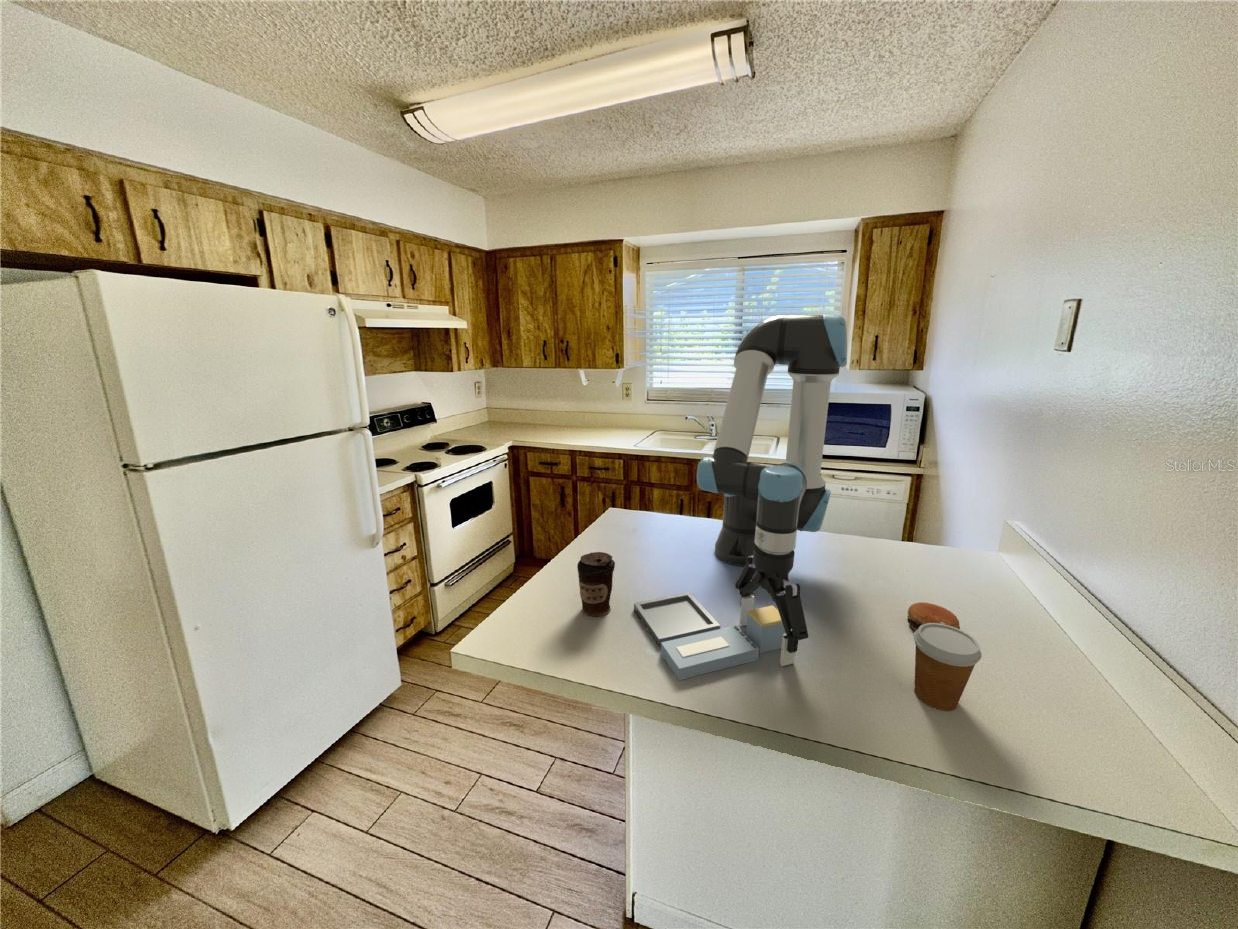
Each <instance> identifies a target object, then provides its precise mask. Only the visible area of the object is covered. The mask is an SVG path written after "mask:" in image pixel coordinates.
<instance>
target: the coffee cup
mask: <svg viewBox="0 0 1238 929" xmlns="http://www.w3.org/2000/svg"><path fill="white" fill-rule="evenodd" d="M579 559H580V560H578V563H577V567H576V568H577V573H578V574H577V575H578V586H579V594H580V600H581V605H582V606H581V608H582V612H583V613H584V614H585V615H588V616H590V617H591V616H592V617H601V616H604V615H605V616H606V615H607V614H609V613H610V611H611V605H610V600H611V594H612V590H613V578H614V576H613V575H614V571H615V564H616V562H615V560H614V559H613V556H612V555H611V554H609V553H607V552H601V551H595V552H590V553H586V554H582V556H580V558H579Z"/></svg>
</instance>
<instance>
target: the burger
mask: <svg viewBox="0 0 1238 929" xmlns="http://www.w3.org/2000/svg"><path fill="white" fill-rule="evenodd" d="M906 616H907V619H906V620H907V623H908V624H909V625H910V626H911V628H912V629H913V630H914V631H916V630H918V628H919V627H920V626H921V625H923V624H926V623H940V624H945V625H949V626H952V627H955V628H957V629H960V630H961V626H960V620H959V619H958V617H957V616H956V614H954V613H953V612H952V611H951V610H949V609H947V608H945V607H943V606H940V605H938V604H934V603H929V602H916V603H912V604H911V605H910V606H909V607H908V610H907V615H906Z"/></svg>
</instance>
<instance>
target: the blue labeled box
mask: <svg viewBox="0 0 1238 929" xmlns="http://www.w3.org/2000/svg"><path fill="white" fill-rule="evenodd" d="M660 654H661V656H662V657H663V659H664V661H665V662H666V663H667V664H668V666H669V668H670V670H671V671H672V672H673V674H674V675H675V677H676V678H677V680H678V681H681V680H685V679H689V678H692V677H697V676H700V675H705V674H709V673H712V672H716V671H719V670H725V669H727V668H732V667H735V666H740V665H742V664H746V663H750V662H754V661H758V660H759V654H760V653H759V648H758V647H757V646H756V645H755V644H754V643H753V642H752V641H751V640H750V639H749V638H748V637H747V636H746V633H744V632H743V631H742V629H740V627H739V626H737V625H732V626H727V627H722V628H720V629H718V630H713V631H709V632H705V633H700V634H696V635H692V636H687V637H683V638H679V639H674V640H670V641H666V642H661V646H660Z"/></svg>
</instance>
